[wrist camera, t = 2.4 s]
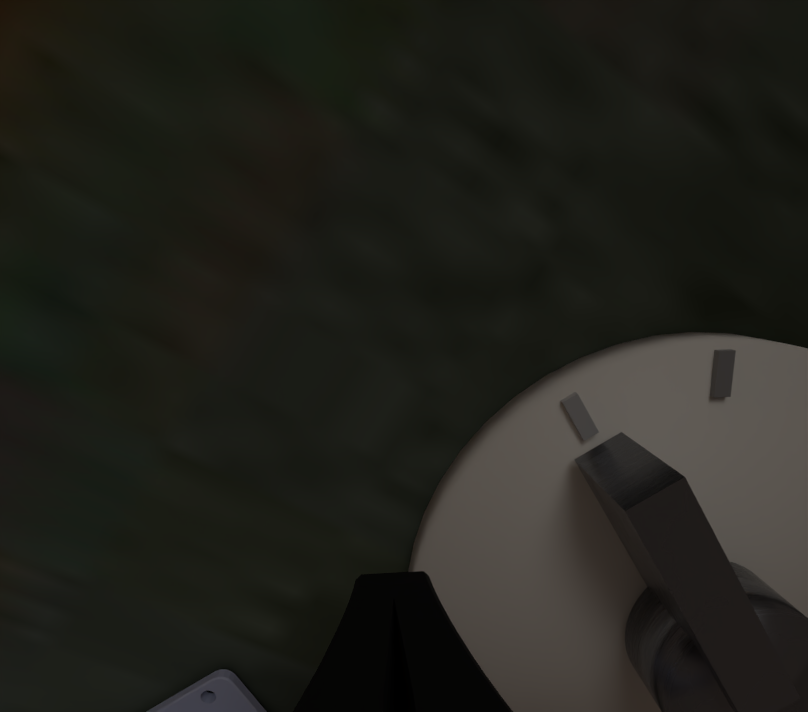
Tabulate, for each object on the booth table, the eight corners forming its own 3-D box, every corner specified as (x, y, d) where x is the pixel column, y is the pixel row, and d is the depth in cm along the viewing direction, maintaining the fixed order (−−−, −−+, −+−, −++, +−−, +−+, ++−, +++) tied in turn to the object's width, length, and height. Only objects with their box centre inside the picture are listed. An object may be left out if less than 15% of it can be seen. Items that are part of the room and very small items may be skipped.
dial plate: (559, 874, 20) (576, 930, 18) (299, 522, 16) (291, 552, 15) (983, 649, 19) (1042, 687, 17) (809, 218, 15) (862, 213, 13)
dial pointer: (796, 645, 16) (890, 731, 13) (663, 717, 16) (726, 817, 13) (672, 402, 14) (749, 439, 11) (524, 488, 14) (562, 547, 11)
